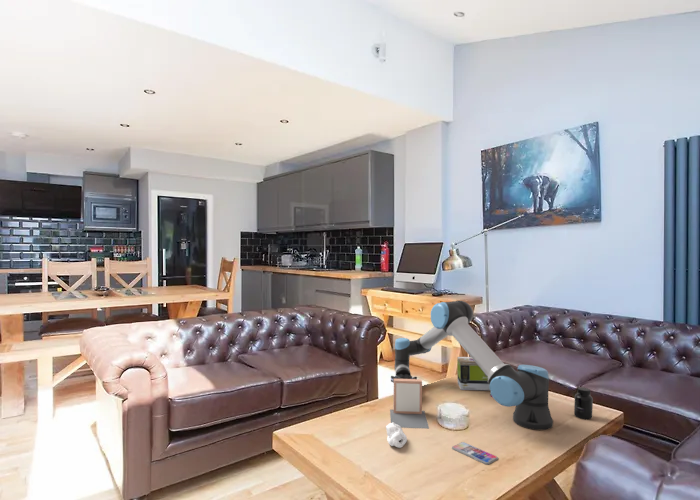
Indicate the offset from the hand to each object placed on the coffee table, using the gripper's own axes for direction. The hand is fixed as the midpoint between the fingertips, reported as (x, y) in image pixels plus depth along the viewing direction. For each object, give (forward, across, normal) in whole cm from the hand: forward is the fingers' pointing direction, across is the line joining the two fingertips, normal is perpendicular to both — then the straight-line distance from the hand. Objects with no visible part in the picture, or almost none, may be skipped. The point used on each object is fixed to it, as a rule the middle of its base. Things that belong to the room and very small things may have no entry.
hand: (405, 390), depth 189 cm
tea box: (-31, -36, -8) cm, 48 cm away
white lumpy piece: (+33, +5, -8) cm, 34 cm away
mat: (+13, 0, -8) cm, 15 cm away
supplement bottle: (+3, -75, -8) cm, 76 cm away
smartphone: (+39, -22, -8) cm, 46 cm away
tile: (+6, 0, -7) cm, 10 cm away
